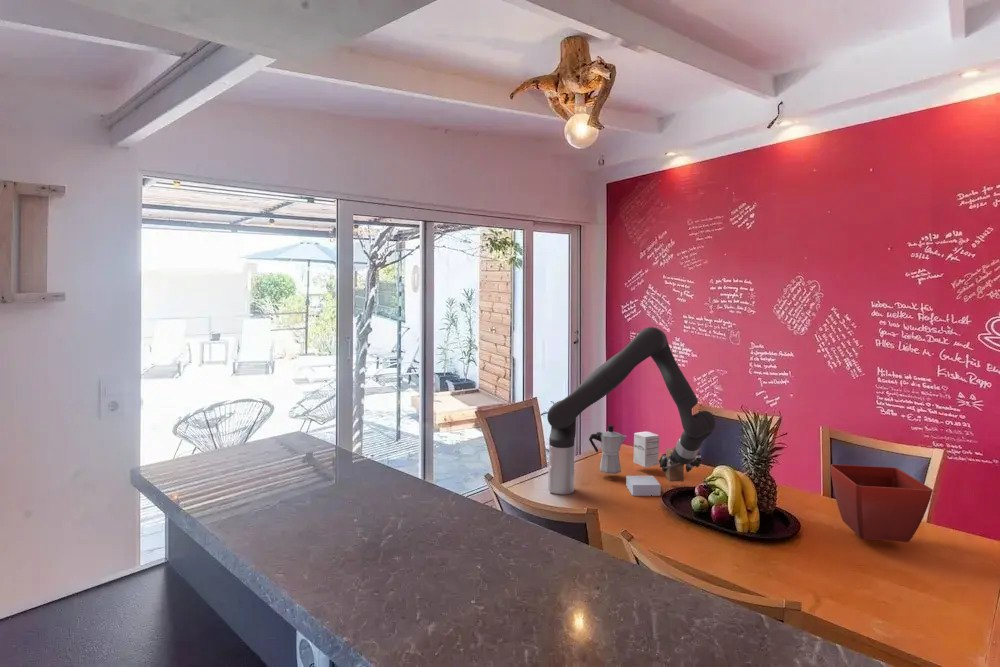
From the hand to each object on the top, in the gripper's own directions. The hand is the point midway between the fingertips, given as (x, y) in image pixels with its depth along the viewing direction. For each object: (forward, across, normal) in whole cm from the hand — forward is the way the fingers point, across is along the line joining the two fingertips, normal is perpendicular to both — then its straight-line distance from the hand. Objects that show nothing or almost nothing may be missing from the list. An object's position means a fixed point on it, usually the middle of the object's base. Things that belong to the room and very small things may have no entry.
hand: (675, 469), depth 205 cm
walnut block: (+3, 0, +2) cm, 4 cm away
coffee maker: (+11, +23, -5) cm, 26 cm away
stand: (+2, +13, +7) cm, 15 cm away
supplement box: (+16, +6, -10) cm, 20 cm away
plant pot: (-29, -44, +35) cm, 63 cm away
